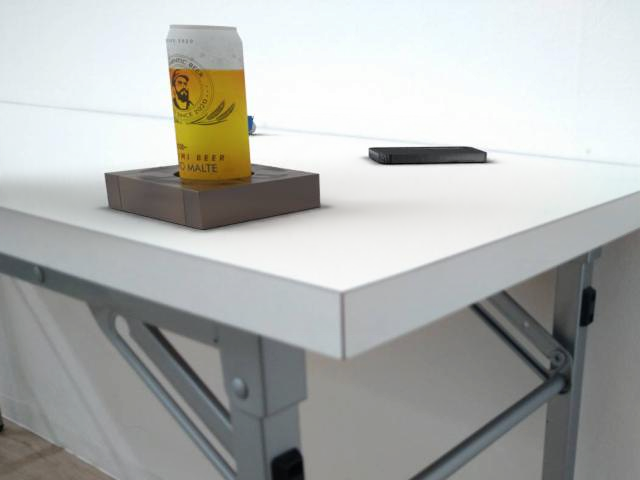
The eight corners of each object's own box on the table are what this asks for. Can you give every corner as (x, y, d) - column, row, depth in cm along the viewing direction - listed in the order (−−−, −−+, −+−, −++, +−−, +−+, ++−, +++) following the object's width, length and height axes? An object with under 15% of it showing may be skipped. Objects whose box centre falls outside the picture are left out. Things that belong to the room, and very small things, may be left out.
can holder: (108, 207, 65) (103, 172, 64) (228, 189, 75) (226, 159, 74) (202, 229, 58) (198, 191, 57) (320, 206, 68) (319, 173, 67)
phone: (366, 147, 101) (469, 146, 106) (366, 155, 101) (469, 154, 106) (380, 154, 94) (489, 152, 99) (380, 163, 94) (489, 161, 99)
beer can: (167, 208, 65) (147, 24, 60) (216, 198, 70) (201, 27, 65) (221, 216, 63) (205, 24, 57) (267, 205, 68) (256, 28, 62)
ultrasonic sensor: (255, 140, 124) (257, 120, 124) (250, 135, 121) (252, 115, 122) (221, 138, 124) (223, 119, 125) (215, 133, 122) (217, 113, 122)
